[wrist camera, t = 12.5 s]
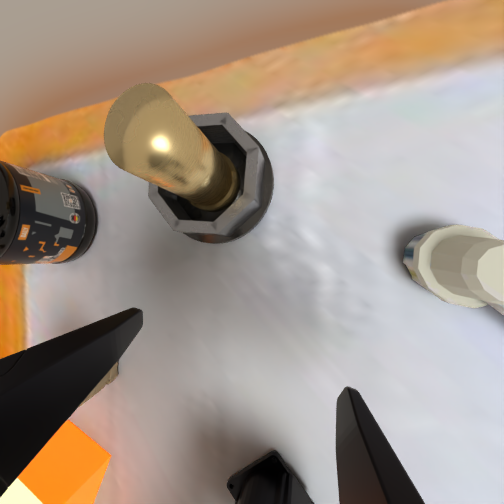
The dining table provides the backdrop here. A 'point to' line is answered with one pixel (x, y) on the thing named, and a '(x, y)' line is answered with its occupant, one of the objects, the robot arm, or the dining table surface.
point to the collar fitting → (250, 195)
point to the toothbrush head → (459, 265)
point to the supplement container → (42, 218)
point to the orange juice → (61, 471)
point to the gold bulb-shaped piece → (168, 149)
